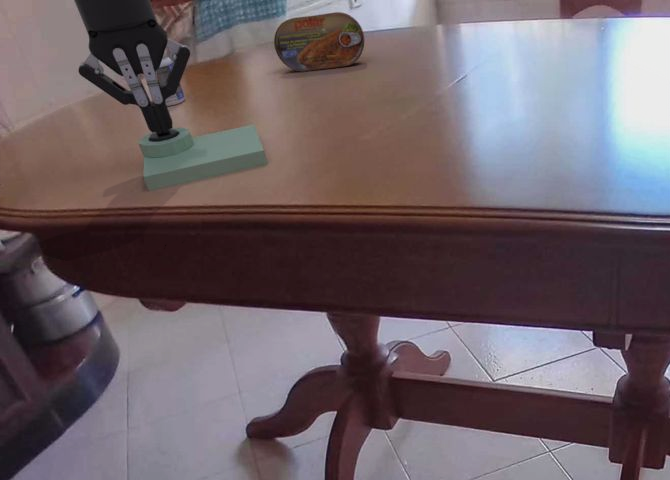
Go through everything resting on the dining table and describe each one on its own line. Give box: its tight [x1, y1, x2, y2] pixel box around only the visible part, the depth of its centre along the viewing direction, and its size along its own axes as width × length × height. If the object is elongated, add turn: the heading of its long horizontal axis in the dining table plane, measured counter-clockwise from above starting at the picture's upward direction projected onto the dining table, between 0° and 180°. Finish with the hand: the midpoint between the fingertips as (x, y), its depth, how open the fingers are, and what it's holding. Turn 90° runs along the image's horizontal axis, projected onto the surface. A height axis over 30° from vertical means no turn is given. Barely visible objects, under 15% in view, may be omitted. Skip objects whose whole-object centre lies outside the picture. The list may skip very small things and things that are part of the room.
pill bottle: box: [156, 48, 186, 107], centre depth 110 cm, size 5×5×8 cm
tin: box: [273, 11, 365, 73], centre depth 118 cm, size 15×3×8 cm, turn 92°
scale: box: [137, 124, 269, 192], centre depth 87 cm, size 14×12×4 cm
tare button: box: [150, 129, 178, 142], centre depth 88 cm, size 3×3×2 cm
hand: (163, 133), depth 87 cm, fingers closed
